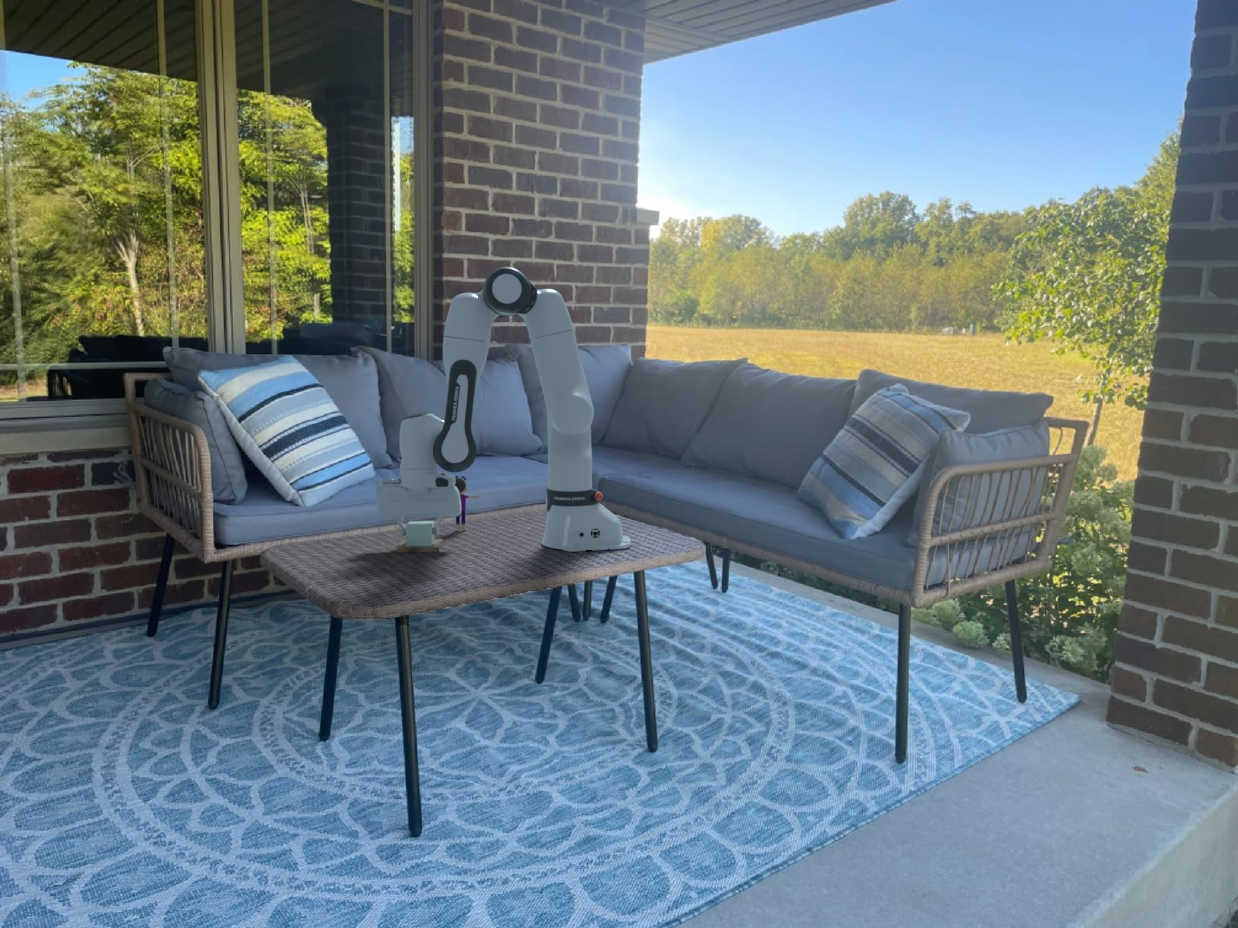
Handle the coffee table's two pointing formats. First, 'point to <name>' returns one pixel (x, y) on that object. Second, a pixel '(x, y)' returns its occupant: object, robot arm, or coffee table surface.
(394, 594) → the coffee table surface
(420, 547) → the stand
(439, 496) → the robot arm
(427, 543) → the pale aqua cube
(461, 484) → the toy
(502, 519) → the coffee table surface
